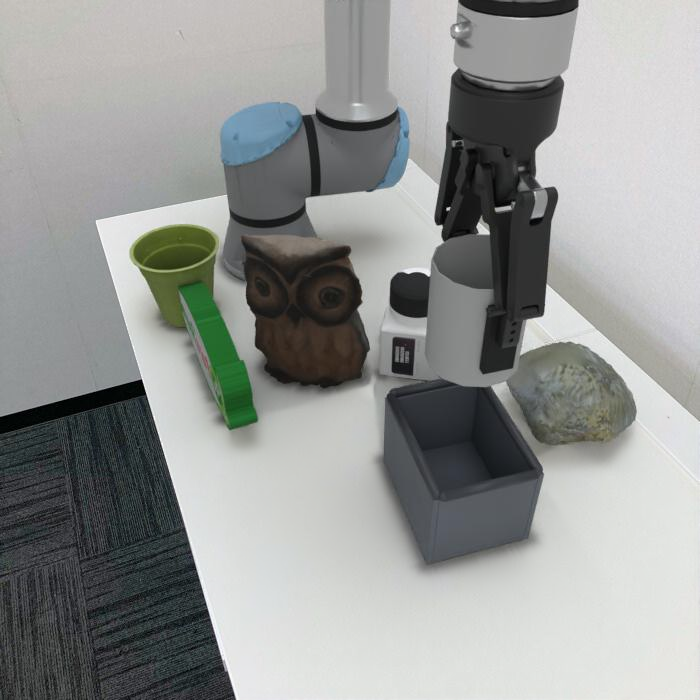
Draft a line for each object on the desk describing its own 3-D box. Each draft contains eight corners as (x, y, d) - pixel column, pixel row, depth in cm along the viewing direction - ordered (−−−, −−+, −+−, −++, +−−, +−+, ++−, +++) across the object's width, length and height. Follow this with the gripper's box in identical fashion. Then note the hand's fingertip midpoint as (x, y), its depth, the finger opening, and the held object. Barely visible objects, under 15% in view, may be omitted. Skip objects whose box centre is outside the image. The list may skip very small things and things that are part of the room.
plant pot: (137, 303, 103) (120, 236, 96) (214, 282, 107) (204, 216, 100) (157, 349, 95) (140, 280, 88) (240, 324, 99) (231, 256, 92)
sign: (261, 443, 82) (252, 379, 76) (235, 451, 81) (224, 388, 75) (205, 317, 101) (194, 258, 94) (183, 323, 100) (170, 263, 93)
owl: (373, 380, 90) (375, 245, 77) (283, 413, 86) (268, 276, 73) (329, 326, 99) (324, 197, 86) (245, 354, 94) (226, 222, 81)
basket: (428, 569, 69) (530, 542, 71) (435, 499, 62) (548, 472, 64) (381, 457, 80) (471, 437, 82) (383, 388, 73) (481, 368, 75)
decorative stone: (557, 387, 94) (622, 345, 88) (592, 485, 83) (667, 445, 78) (488, 345, 86) (554, 296, 81) (517, 446, 76) (594, 399, 71)
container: (438, 383, 90) (446, 300, 81) (378, 375, 91) (380, 293, 82) (444, 345, 95) (452, 264, 87) (388, 338, 97) (390, 257, 88)
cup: (539, 363, 62) (559, 267, 56) (469, 400, 59) (481, 303, 52) (474, 316, 68) (486, 224, 61) (406, 347, 64) (411, 253, 58)
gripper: (403, 31, 54) (394, 277, 69) (530, 140, 39) (484, 428, 53) (493, 23, 56) (466, 265, 70) (650, 124, 40) (573, 409, 55)
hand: (474, 335), depth 62 cm, fingers closed on cup, 8 cm apart
